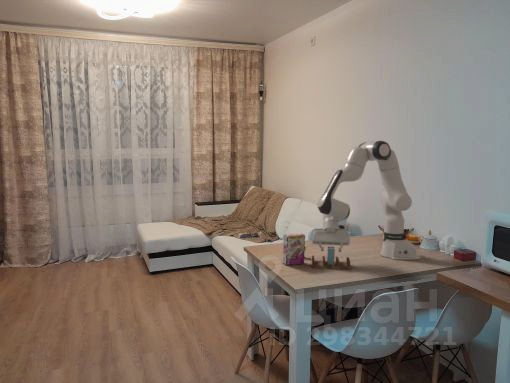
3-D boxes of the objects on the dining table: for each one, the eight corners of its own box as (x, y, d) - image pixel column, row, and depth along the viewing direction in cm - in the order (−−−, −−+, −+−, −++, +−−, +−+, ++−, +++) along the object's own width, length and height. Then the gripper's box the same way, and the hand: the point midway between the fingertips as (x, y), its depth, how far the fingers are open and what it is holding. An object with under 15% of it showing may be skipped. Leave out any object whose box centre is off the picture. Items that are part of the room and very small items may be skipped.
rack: (348, 264, 228) (348, 256, 227) (350, 269, 218) (350, 262, 217) (311, 262, 230) (312, 255, 229) (311, 267, 220) (312, 260, 220)
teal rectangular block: (333, 262, 225) (334, 246, 224) (334, 265, 221) (334, 248, 220) (327, 262, 226) (327, 246, 225) (327, 264, 222) (328, 248, 221)
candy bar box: (286, 266, 223) (287, 236, 221) (282, 263, 228) (283, 234, 225) (304, 263, 227) (305, 234, 225) (300, 261, 232) (301, 232, 230)
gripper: (312, 225, 229) (311, 247, 221) (349, 226, 227) (350, 248, 218) (311, 231, 234) (311, 252, 226) (348, 232, 232) (349, 254, 223)
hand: (331, 250), depth 222 cm, fingers open, 8 cm apart
